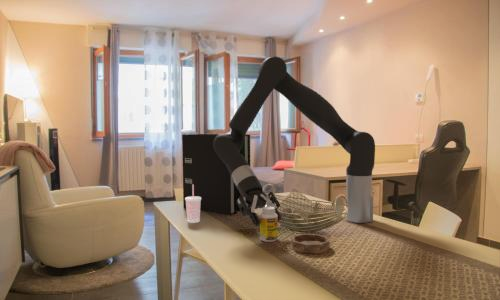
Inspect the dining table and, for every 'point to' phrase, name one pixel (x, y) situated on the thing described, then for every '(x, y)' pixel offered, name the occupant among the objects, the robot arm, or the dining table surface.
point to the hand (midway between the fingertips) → (269, 222)
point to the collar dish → (310, 243)
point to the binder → (210, 174)
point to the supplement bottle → (268, 224)
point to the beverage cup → (193, 207)
